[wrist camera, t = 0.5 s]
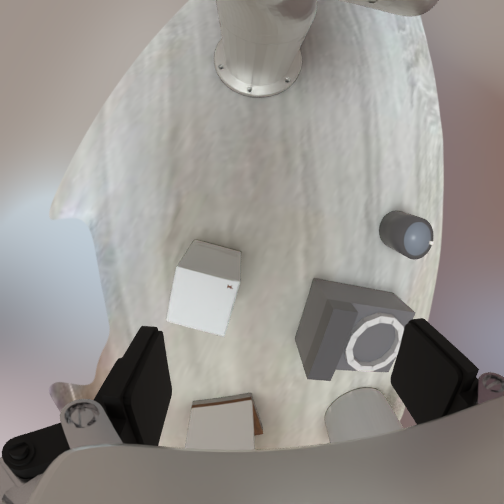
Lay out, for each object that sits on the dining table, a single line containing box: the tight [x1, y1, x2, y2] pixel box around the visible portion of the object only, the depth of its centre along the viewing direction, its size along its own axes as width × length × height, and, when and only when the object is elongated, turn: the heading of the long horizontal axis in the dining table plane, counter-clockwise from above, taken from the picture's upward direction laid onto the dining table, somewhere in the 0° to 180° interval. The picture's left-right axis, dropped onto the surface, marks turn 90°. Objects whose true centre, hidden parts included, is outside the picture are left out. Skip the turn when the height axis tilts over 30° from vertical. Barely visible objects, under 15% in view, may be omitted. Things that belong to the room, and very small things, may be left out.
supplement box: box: [166, 240, 241, 337], centre depth 38 cm, size 7×7×13 cm
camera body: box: [295, 278, 415, 381], centre depth 42 cm, size 11×15×11 cm
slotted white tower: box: [185, 393, 263, 450], centre depth 36 cm, size 11×11×35 cm
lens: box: [379, 211, 434, 259], centre depth 40 cm, size 6×6×7 cm
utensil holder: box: [325, 388, 403, 443], centre depth 45 cm, size 15×15×18 cm
